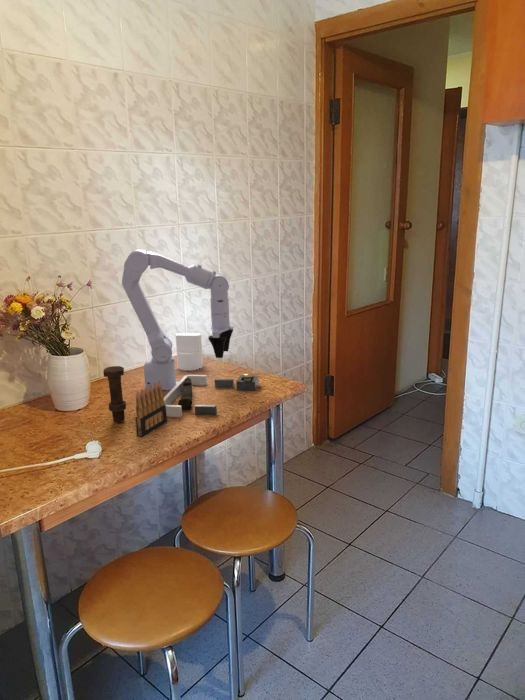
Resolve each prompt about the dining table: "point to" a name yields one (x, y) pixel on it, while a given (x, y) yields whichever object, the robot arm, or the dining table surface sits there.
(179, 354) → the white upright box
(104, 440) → the dining table surface
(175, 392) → the white u-shaped bracket
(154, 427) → the ammunition clip
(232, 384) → the tool holder
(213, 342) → the robot arm
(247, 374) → the release plunger
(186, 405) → the hand tool
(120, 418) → the bolt
